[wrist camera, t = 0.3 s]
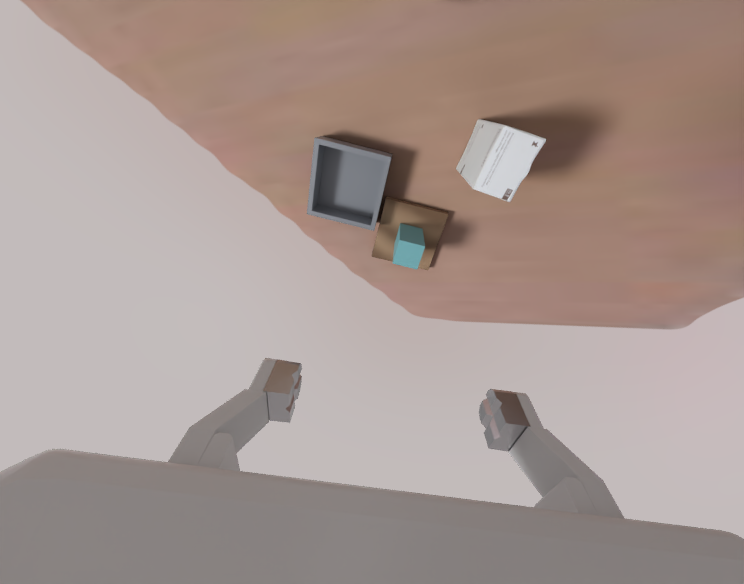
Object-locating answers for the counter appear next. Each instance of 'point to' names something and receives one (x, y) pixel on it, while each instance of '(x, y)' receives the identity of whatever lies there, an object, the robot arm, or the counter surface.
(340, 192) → the bin
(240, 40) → the counter surface
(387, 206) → the brown wooden lid
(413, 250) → the strut
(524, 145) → the skincare box
